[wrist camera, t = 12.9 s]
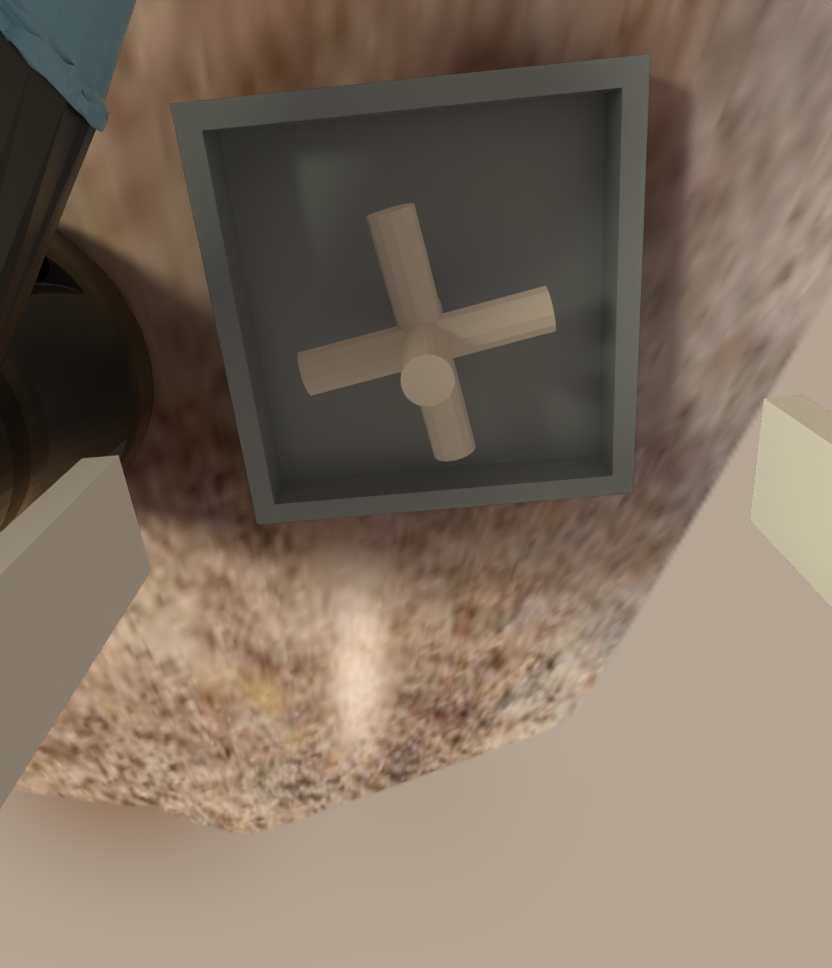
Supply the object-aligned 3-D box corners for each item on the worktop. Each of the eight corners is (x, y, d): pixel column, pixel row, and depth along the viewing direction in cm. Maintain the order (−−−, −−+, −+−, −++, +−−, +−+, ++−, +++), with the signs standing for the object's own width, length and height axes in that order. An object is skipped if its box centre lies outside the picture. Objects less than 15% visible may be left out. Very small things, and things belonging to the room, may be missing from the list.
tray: (270, 494, 37) (257, 524, 34) (195, 109, 30) (170, 103, 27) (614, 465, 37) (633, 493, 34) (625, 64, 29) (650, 53, 26)
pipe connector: (549, 383, 34) (599, 475, 25) (351, 433, 35) (332, 539, 26) (507, 163, 30) (548, 181, 21) (282, 229, 31) (231, 272, 22)
